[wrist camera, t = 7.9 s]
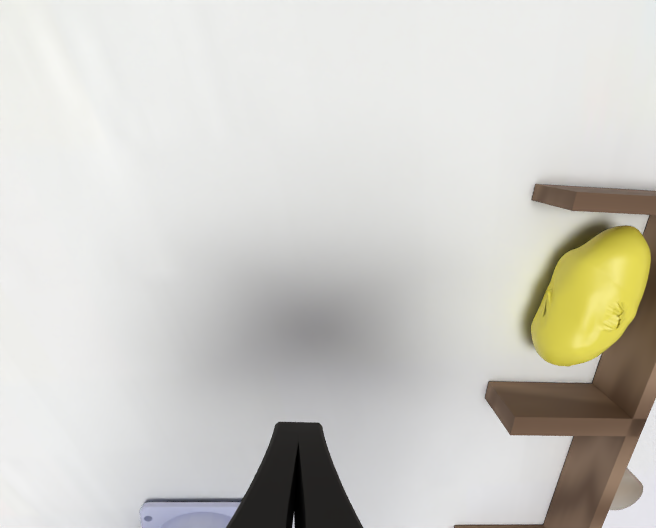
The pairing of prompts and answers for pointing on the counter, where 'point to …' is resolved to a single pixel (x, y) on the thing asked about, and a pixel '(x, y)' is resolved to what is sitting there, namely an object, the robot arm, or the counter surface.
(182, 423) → the counter surface
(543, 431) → the brown open frame
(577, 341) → the yellow potato
